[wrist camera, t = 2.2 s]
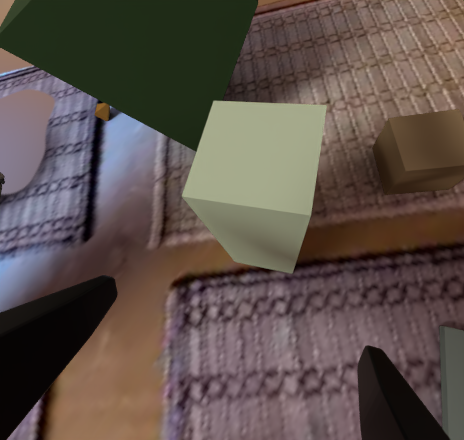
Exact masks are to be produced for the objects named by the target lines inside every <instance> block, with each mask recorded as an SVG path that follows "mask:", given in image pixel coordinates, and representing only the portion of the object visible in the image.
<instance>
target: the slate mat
mask: <svg viewBox="0 0 464 440" xmlns="http://www.w3.org/2000/svg"><path fill="white" fill-rule="evenodd" d="M439 331H440V362H441V393H442V424H443V430H444V431H445V433H446V434H447V435H448V437H449V438H450V439H451V440H464V331H463V330H459V329H454V328H450V327H446V326H439Z"/></svg>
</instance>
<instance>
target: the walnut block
mask: <svg viewBox="0 0 464 440" xmlns="http://www.w3.org/2000/svg"><path fill="white" fill-rule="evenodd" d="M372 149H373V153H374V157H375V160H376V164H377V168H378V171H379V175H380V179H381V182H382V186H383V190H384V194H385V195H390V194H402V193H414V192H425V191H437V190H449V189H450V188H452V187H453V186H454V185H456V184H457V183H458V182H460V181H461V180H462V179H464V119H463V117H462V115H461V113H460V111H459V109H455V110H448V111H440V112H432V113H425V114H417V115H410V116H402V117H394V118H389V119H388V121H387V122H386V124H385V126H384V128H383V130H382V131H381V133H380V135H379V137H378V139H377V140H376V142H375V144H374V146H373V148H372Z"/></svg>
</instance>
